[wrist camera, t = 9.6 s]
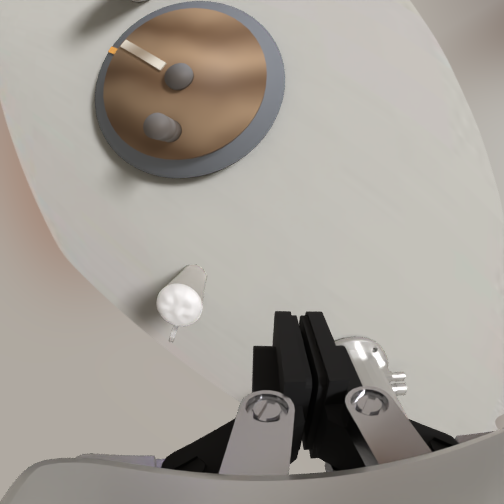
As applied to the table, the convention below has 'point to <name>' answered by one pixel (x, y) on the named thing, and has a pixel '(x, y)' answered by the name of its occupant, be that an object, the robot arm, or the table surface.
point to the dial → (185, 84)
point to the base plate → (228, 152)
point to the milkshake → (183, 298)
